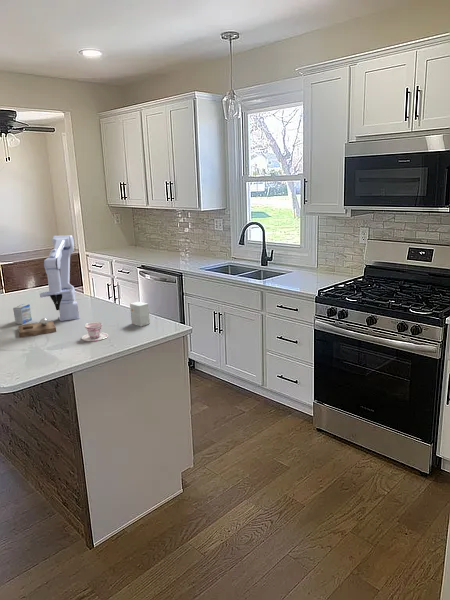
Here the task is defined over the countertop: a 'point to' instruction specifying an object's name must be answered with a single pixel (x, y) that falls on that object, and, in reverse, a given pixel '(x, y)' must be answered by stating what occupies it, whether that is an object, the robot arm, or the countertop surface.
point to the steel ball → (43, 321)
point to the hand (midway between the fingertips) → (57, 309)
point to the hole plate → (36, 329)
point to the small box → (139, 313)
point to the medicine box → (22, 314)
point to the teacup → (94, 332)
